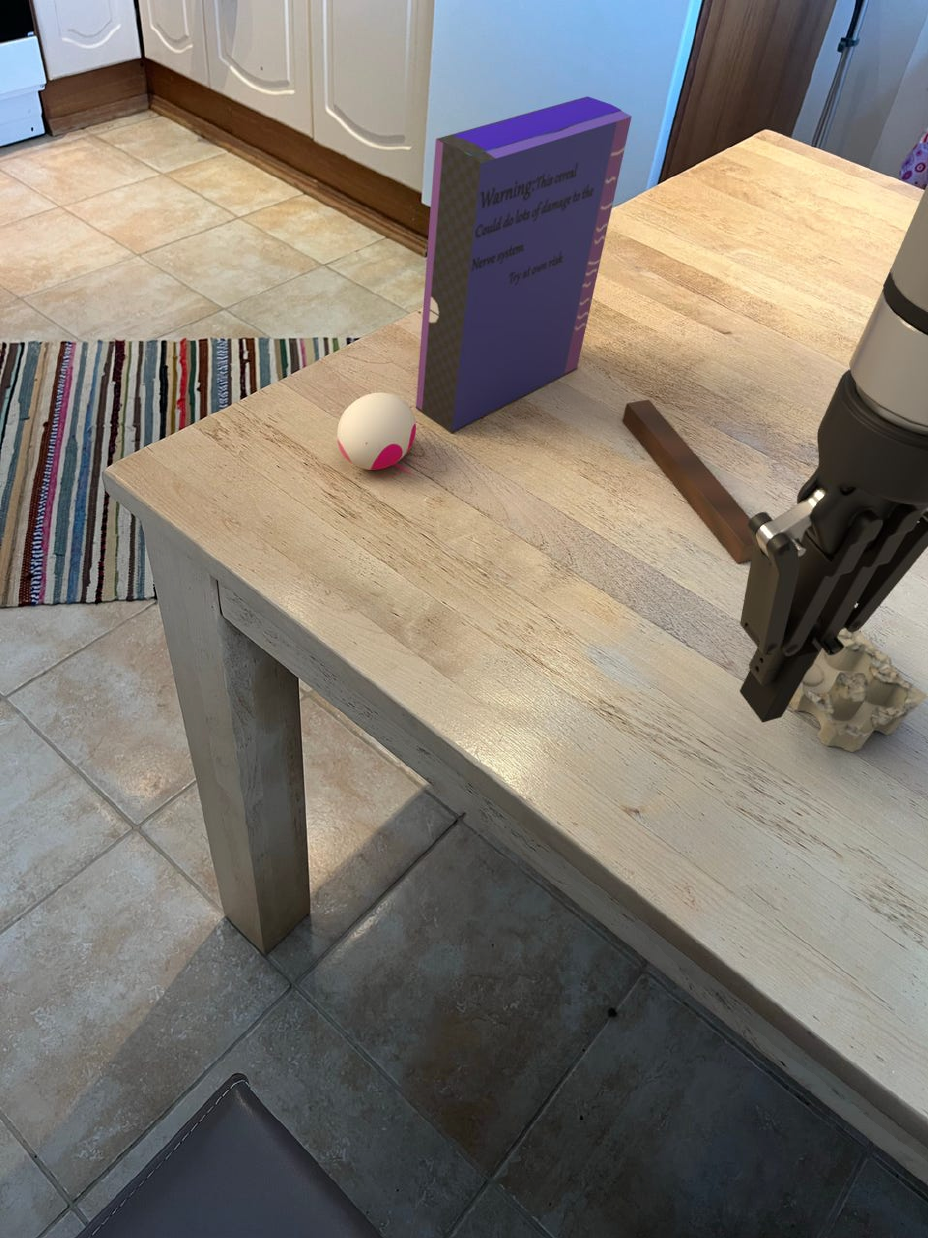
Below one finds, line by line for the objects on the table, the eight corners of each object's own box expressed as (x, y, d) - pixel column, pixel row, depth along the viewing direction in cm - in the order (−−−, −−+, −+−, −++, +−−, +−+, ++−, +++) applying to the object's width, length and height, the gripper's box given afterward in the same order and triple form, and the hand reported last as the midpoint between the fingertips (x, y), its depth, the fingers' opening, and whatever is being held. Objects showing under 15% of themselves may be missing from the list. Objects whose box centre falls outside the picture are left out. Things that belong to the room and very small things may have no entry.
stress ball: (366, 516, 82) (403, 487, 76) (305, 443, 80) (338, 408, 75) (418, 472, 86) (457, 441, 80) (361, 401, 84) (396, 365, 79)
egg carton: (738, 652, 71) (756, 615, 68) (816, 626, 73) (836, 589, 70) (832, 764, 64) (855, 728, 61) (912, 731, 67) (939, 695, 64)
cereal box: (541, 347, 96) (587, 93, 79) (576, 369, 94) (632, 113, 77) (415, 408, 87) (436, 135, 70) (451, 433, 85) (481, 159, 68)
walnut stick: (761, 558, 78) (769, 540, 77) (737, 563, 77) (745, 546, 76) (643, 417, 90) (649, 399, 89) (621, 420, 89) (626, 402, 88)
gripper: (971, 337, 49) (806, 641, 66) (764, 368, 45) (645, 684, 62) (1083, 420, 44) (875, 723, 61) (864, 463, 40) (706, 776, 57)
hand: (760, 703), depth 62 cm, fingers closed
